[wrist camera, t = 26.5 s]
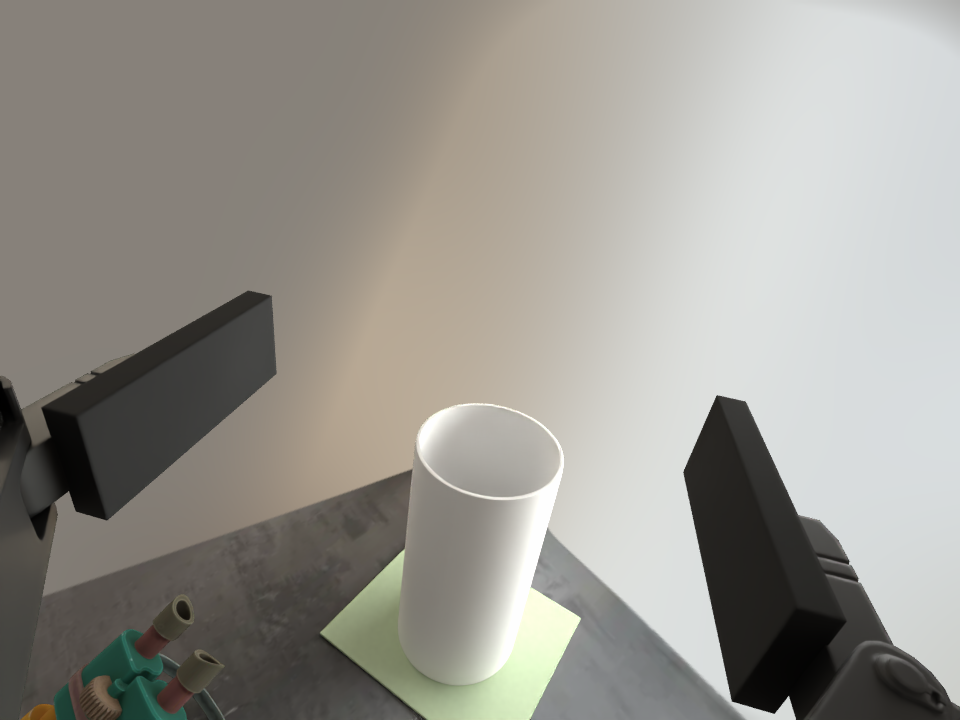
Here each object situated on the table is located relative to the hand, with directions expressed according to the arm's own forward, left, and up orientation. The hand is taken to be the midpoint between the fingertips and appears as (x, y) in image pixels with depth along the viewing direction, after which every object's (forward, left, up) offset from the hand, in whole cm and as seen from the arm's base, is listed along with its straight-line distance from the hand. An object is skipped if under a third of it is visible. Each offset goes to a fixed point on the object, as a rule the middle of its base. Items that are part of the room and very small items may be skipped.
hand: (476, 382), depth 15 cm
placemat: (-3, +9, -26) cm, 28 cm away
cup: (-3, +9, -26) cm, 28 cm away
